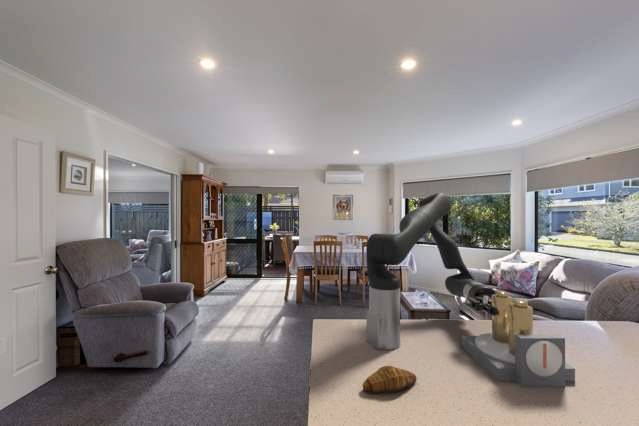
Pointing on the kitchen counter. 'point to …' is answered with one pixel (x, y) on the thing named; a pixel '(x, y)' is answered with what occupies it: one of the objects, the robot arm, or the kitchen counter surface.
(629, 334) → the kitchen counter surface
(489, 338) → the scale
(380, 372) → the croissant
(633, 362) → the kitchen counter surface
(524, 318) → the weight
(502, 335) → the weight
